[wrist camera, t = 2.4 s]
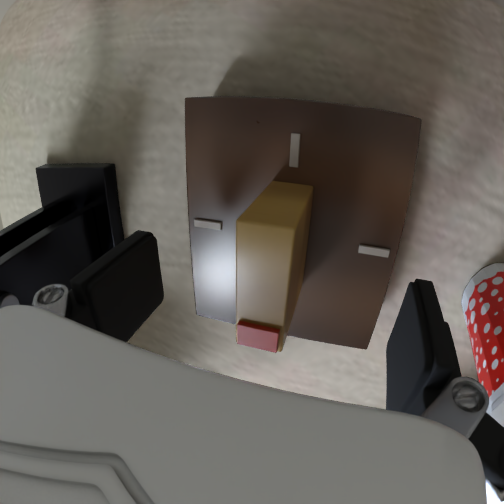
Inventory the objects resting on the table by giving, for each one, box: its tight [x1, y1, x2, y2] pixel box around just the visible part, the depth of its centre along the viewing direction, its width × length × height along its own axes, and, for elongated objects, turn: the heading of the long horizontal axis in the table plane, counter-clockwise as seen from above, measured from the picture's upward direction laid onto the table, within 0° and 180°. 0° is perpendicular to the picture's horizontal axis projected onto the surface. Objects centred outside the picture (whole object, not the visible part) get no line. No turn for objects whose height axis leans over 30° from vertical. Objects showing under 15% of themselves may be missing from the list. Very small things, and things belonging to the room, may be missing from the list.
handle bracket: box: [0, 163, 124, 309], centre depth 17 cm, size 10×8×12 cm
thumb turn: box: [236, 181, 314, 353], centre depth 12 cm, size 5×2×5 cm, turn 179°
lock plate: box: [185, 96, 422, 349], centre depth 15 cm, size 12×10×3 cm
